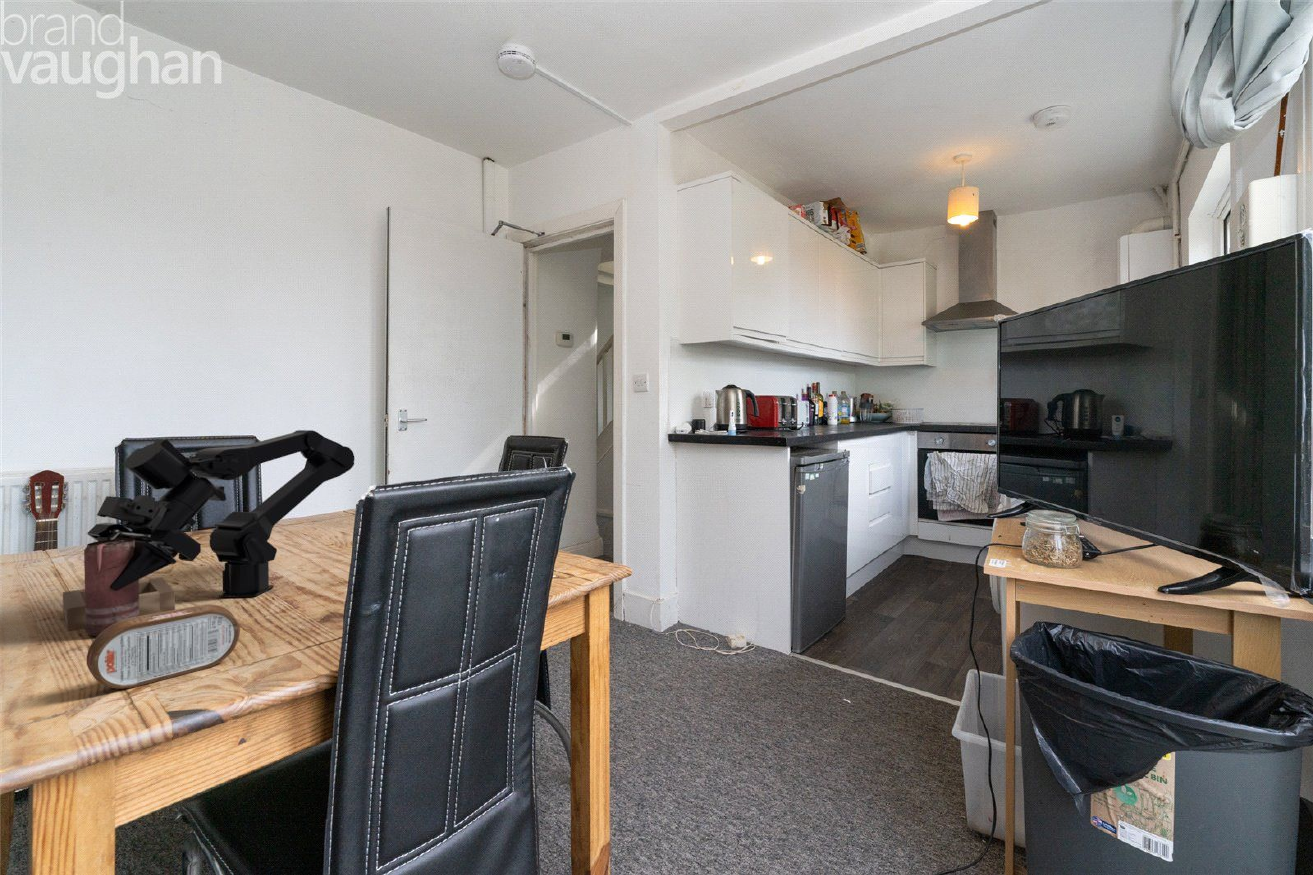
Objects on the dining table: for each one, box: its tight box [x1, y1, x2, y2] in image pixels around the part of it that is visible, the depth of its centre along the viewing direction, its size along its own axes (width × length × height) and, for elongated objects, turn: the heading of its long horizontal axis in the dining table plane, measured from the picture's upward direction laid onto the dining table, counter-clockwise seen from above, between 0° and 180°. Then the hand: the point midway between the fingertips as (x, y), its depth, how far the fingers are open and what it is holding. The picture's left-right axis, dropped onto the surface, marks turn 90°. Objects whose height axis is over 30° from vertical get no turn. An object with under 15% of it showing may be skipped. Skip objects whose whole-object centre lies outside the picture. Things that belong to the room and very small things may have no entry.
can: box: [83, 539, 140, 637], centre depth 89 cm, size 6×6×14 cm
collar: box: [62, 577, 176, 632], centre depth 98 cm, size 13×13×4 cm
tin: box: [86, 604, 241, 690], centre depth 73 cm, size 15×3×8 cm, turn 140°
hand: (101, 587), depth 87 cm, fingers closed on can, 5 cm apart
